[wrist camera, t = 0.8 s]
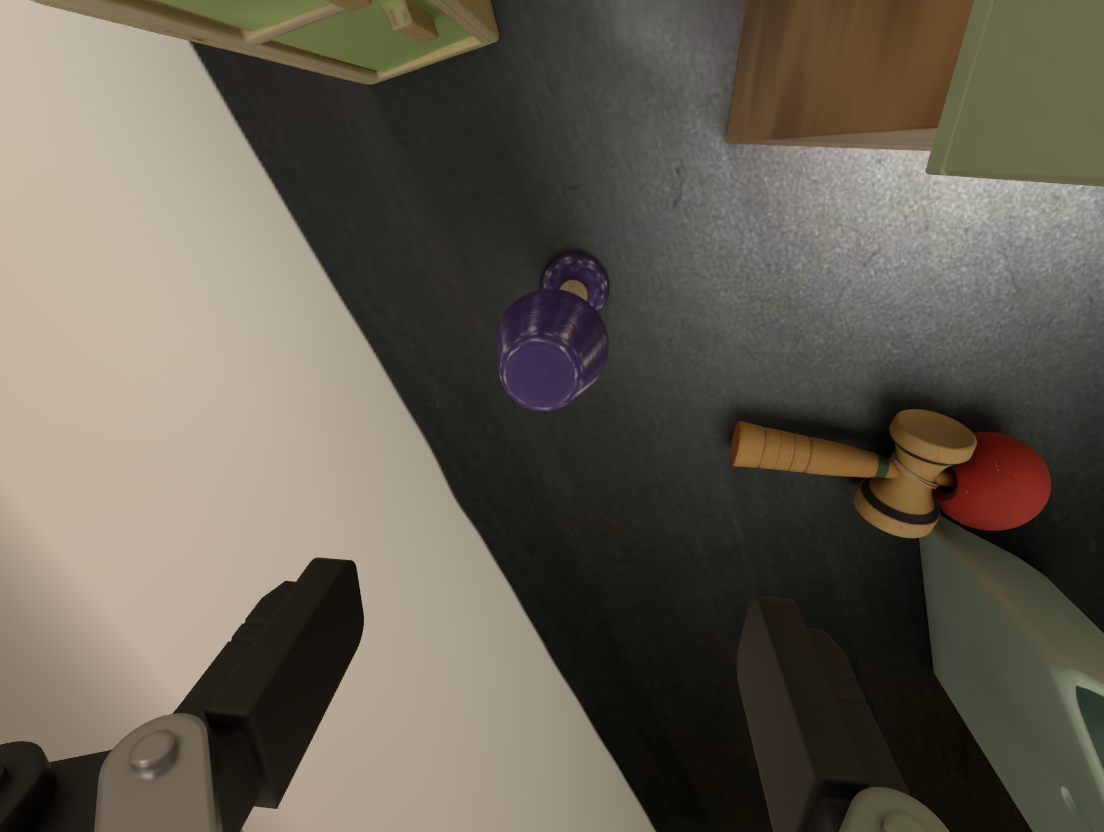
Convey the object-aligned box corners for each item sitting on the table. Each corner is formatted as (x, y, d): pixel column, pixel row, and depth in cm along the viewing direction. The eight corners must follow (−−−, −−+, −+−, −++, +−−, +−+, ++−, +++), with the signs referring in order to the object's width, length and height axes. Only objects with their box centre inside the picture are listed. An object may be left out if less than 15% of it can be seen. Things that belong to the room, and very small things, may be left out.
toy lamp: (522, 301, 36) (460, 407, 21) (550, 229, 34) (504, 291, 19) (592, 331, 36) (580, 457, 21) (623, 262, 34) (635, 348, 19)
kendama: (719, 482, 42) (994, 529, 38) (726, 517, 36) (1053, 575, 32) (739, 378, 40) (1031, 418, 36) (749, 396, 34) (1100, 445, 30)
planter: (1044, 657, 44) (1342, 1002, 26) (933, 674, 46) (1140, 1009, 28) (1043, 481, 38) (1427, 774, 20) (914, 508, 40) (1163, 800, 22)
